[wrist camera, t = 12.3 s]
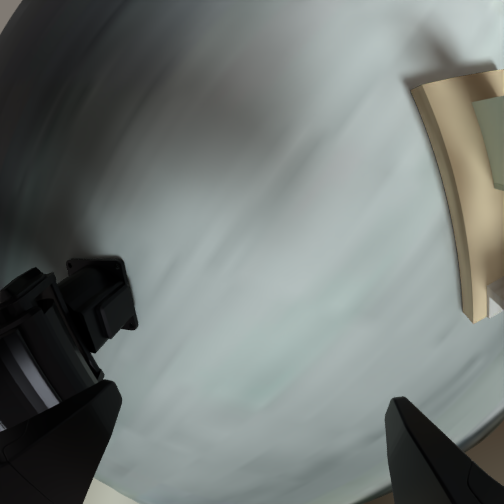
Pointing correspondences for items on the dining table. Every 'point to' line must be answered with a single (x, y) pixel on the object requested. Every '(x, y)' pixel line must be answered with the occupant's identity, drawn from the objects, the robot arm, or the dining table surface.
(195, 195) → the dining table surface
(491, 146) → the sage book
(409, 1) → the dining table surface
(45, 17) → the dining table surface
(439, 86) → the tan board with upright
